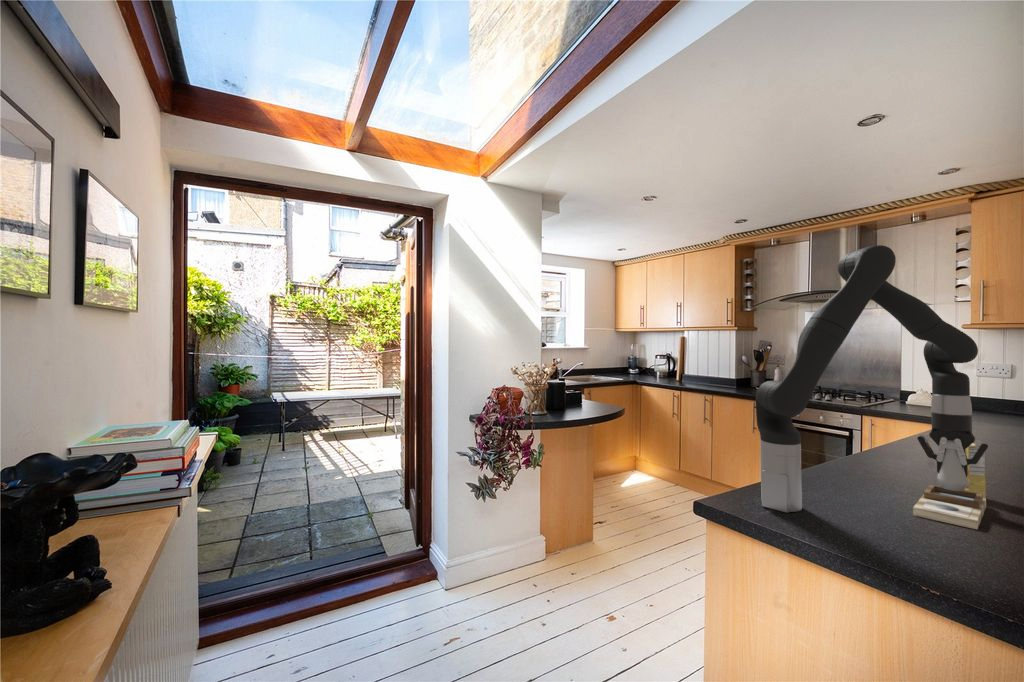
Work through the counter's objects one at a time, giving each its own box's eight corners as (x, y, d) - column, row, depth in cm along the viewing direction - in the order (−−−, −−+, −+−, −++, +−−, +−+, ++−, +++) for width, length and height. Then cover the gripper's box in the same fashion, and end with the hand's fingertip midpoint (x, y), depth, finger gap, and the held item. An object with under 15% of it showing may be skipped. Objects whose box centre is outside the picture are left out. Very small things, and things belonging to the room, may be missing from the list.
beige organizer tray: (977, 529, 100) (977, 514, 100) (913, 515, 108) (912, 501, 108) (986, 506, 114) (985, 493, 114) (928, 495, 122) (928, 483, 122)
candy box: (943, 490, 126) (942, 438, 126) (960, 491, 125) (959, 438, 126) (969, 501, 118) (967, 445, 118) (987, 502, 117) (986, 445, 117)
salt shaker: (975, 493, 111) (974, 442, 111) (948, 491, 112) (947, 441, 112) (957, 485, 116) (956, 437, 117) (932, 484, 118) (931, 436, 118)
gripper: (912, 410, 118) (913, 473, 117) (989, 416, 107) (990, 486, 106) (917, 407, 122) (919, 468, 122) (991, 413, 111) (993, 480, 111)
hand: (952, 476), depth 114 cm, fingers closed on salt shaker, 3 cm apart
